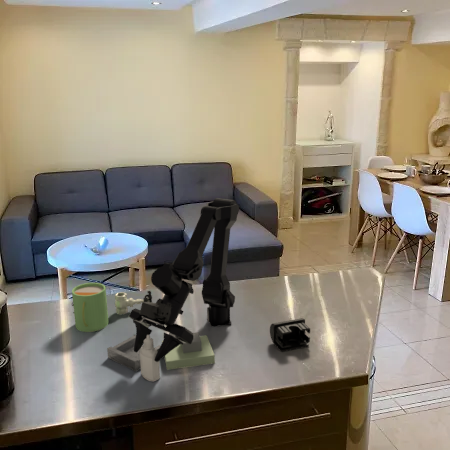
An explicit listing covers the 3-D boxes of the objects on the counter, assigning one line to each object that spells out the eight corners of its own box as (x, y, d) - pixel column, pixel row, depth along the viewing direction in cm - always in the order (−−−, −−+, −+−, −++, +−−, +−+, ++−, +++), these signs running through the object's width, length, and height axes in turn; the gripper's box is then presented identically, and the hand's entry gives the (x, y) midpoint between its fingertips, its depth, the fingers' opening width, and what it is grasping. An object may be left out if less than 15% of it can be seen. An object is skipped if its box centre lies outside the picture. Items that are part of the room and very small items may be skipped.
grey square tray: (135, 342, 143) (134, 333, 143) (162, 354, 137) (162, 344, 136) (108, 358, 136) (107, 348, 135) (135, 371, 129) (134, 361, 128)
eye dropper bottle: (143, 384, 124) (141, 342, 120) (140, 372, 129) (137, 331, 125) (160, 381, 125) (158, 339, 122) (157, 369, 130) (154, 328, 127)
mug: (80, 316, 160) (76, 282, 156) (112, 316, 159) (109, 282, 156) (67, 335, 147) (63, 299, 144) (101, 336, 147) (98, 299, 144)
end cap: (299, 334, 147) (300, 314, 145) (310, 346, 141) (311, 325, 139) (269, 340, 144) (269, 320, 142) (279, 352, 138) (280, 331, 136)
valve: (116, 317, 159) (153, 313, 162) (114, 299, 157) (152, 294, 160) (115, 309, 165) (150, 304, 168) (113, 291, 163) (149, 287, 166)
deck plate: (206, 342, 143) (206, 326, 141) (214, 363, 133) (214, 345, 131) (162, 348, 140) (161, 331, 138) (166, 369, 130) (166, 351, 128)
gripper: (131, 280, 129) (101, 334, 123) (184, 298, 118) (154, 358, 113) (154, 297, 137) (127, 349, 132) (205, 315, 126) (178, 372, 121)
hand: (145, 356), depth 124 cm, fingers open, 7 cm apart
